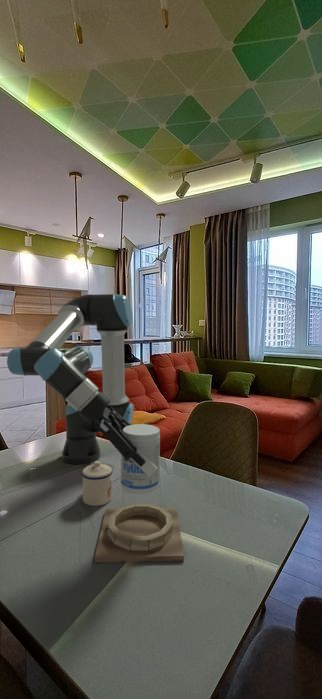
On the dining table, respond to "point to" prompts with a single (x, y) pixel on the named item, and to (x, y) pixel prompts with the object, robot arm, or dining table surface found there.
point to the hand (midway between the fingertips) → (152, 463)
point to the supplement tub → (149, 445)
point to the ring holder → (140, 534)
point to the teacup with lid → (97, 484)
